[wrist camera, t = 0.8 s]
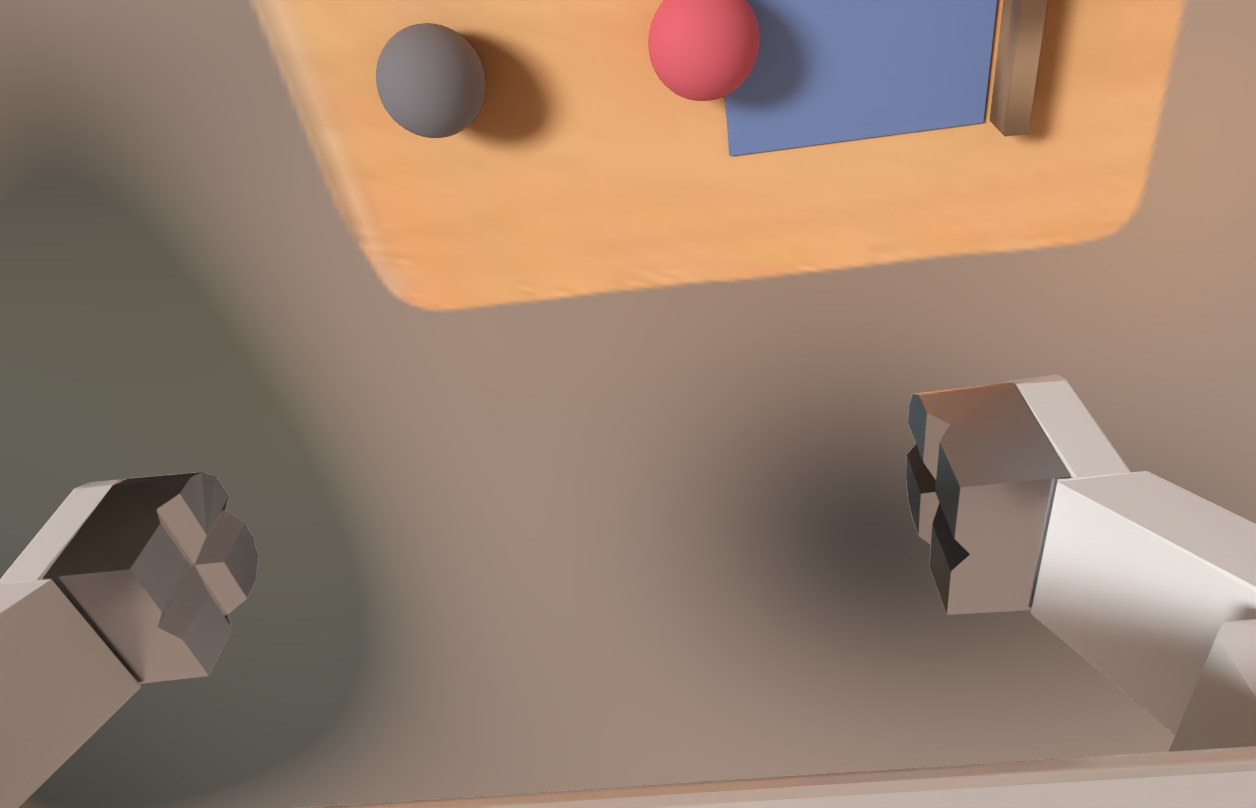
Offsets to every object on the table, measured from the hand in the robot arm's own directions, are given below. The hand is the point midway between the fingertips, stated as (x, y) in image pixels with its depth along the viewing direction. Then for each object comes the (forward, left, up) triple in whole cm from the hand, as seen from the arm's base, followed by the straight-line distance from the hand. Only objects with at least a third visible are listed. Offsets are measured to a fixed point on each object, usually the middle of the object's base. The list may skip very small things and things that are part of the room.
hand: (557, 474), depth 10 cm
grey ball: (+5, -11, -37) cm, 39 cm away
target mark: (+5, +11, -40) cm, 42 cm away
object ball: (+5, +3, -37) cm, 37 cm away
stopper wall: (+5, +19, -40) cm, 44 cm away
